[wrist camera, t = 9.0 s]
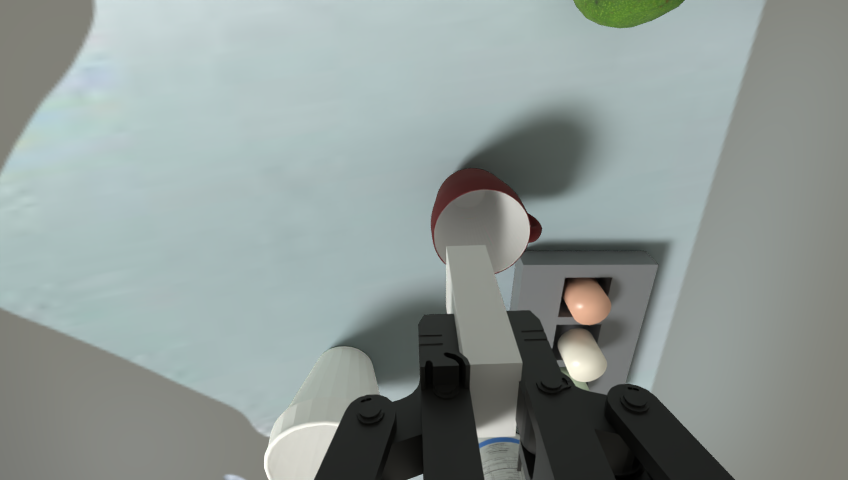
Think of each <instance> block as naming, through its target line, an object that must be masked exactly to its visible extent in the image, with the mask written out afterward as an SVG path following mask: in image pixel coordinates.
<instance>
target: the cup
mask: <svg viewBox="0 0 848 480" xmlns="http://www.w3.org/2000/svg"><path fill="white" fill-rule="evenodd" d="M374 394H378V395H380V392H379V388H378V384H377V380H376V376H375V372H374V368H373V364H372V362H371V360H370V358H369V357H368V356H367V355H366V354H365V353H364V352H362V351H361V350H359V349H356V348H353V347H347V346H340V347H334V348H331V349H329V350H327V351H326V352H324V353H323V354H322V355H321V356H320V357H319V359H318V360H317V362H316V364H315V365H314V367H313V368H312V370H311V372H310V373H309V375H308V376H307V378H306V380H305V381H304V383H303V384H302V386H301V388H300V389H299V391H298V392H297V394H296V396H295V397H294V399H293V400H292V402H291V404H290V405H289V407H288V408H287V410H286V411H284V412H283V414H282V415H281V416H280V417H279V418H278V419H277V420H276V422H275V424H274V427H273V429H272V431H271V436H270V440H269V445H268V449H267V451H266V453H265V457H264V460H265V461H264V468H265V471H266V474H267V476H268V479H269V480H314V478H315V476H316V474H317V472H318V469H319V467H320V465H321V463H322V461H323V458H324V456H325V454H326V452H327V450H328V447H329V445H330V443H331V441H332V439H333V437H334V434H335V432H336V430H337V428H338V426H339V423H340V421H341V419H342V417H343V415H344V412H345V410H346V409H347V407H348V406H349V405H350V403H351V402H353V401H354V400H356V399H357V398H359V397H362V396H365V395H374Z"/></svg>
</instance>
